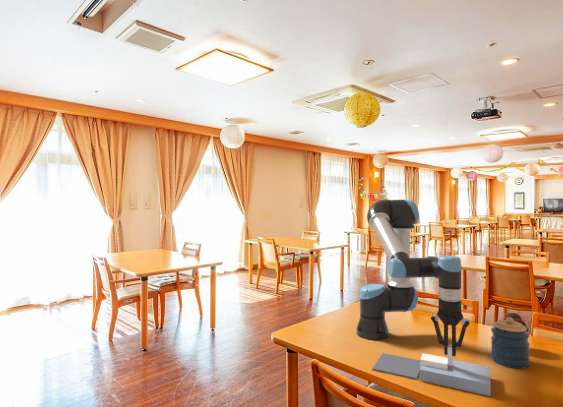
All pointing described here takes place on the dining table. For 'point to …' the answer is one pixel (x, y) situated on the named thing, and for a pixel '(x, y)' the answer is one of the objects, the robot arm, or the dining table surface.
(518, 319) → the ice cream bowl
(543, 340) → the dining table surface
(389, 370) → the mat
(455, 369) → the block
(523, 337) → the canister
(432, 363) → the white rectangular block
